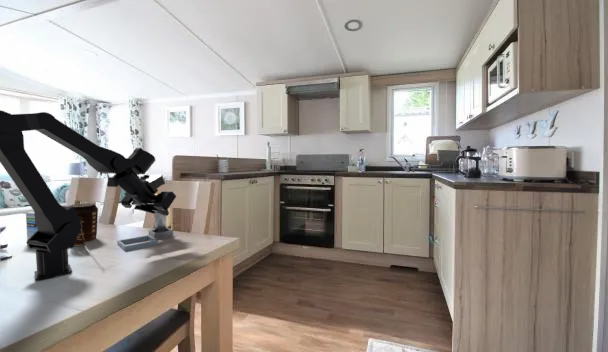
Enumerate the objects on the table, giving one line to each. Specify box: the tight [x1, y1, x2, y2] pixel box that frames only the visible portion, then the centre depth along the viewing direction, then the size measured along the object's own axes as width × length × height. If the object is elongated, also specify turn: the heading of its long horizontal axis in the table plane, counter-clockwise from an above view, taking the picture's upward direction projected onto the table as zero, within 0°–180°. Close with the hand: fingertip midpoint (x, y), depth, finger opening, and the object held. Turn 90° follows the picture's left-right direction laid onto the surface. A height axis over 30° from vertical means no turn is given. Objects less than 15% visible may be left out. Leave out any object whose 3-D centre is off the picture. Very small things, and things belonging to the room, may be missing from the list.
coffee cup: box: [68, 202, 99, 247], centre depth 93 cm, size 9×8×13 cm
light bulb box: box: [25, 210, 38, 241], centre depth 94 cm, size 11×7×11 cm, turn 76°
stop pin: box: [153, 193, 168, 233], centre depth 96 cm, size 5×5×14 cm
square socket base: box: [148, 227, 181, 241], centre depth 98 cm, size 9×8×3 cm
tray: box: [116, 234, 159, 252], centre depth 87 cm, size 9×9×2 cm
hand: (163, 214), depth 98 cm, fingers closed on stop pin, 4 cm apart
